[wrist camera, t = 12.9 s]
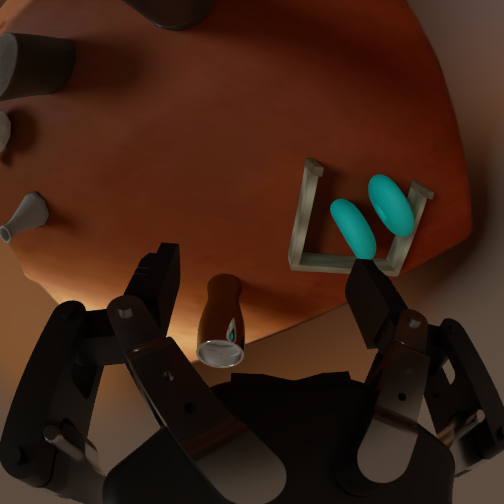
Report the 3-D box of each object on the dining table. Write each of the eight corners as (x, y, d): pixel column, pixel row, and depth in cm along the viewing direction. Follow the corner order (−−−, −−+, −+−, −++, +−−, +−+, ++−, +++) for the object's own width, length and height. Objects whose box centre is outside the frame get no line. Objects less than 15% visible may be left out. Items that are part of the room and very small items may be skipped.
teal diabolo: (319, 196, 40) (340, 225, 31) (372, 163, 37) (405, 183, 29) (347, 242, 44) (368, 278, 36) (394, 212, 42) (424, 241, 33)
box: (305, 157, 37) (314, 166, 32) (417, 181, 38) (434, 192, 34) (287, 256, 45) (291, 274, 41) (389, 263, 47) (400, 280, 42)
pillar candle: (85, 59, 26) (21, 54, 13) (48, 105, 29) (-17, 121, 16) (59, 28, 22) (-2, 19, 9) (25, 73, 25) (-36, 81, 12)
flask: (19, 203, 37) (-13, 227, 29) (35, 184, 36) (1, 206, 27) (37, 232, 41) (8, 259, 32) (54, 215, 39) (24, 243, 31)
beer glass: (242, 303, 50) (243, 370, 38) (205, 300, 50) (196, 367, 37) (245, 272, 47) (247, 340, 34) (204, 270, 46) (193, 337, 33)
